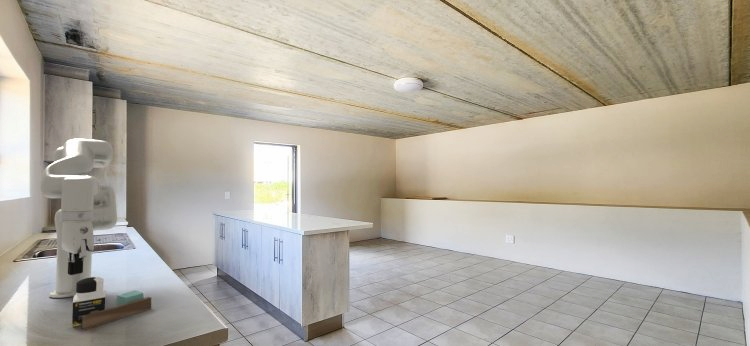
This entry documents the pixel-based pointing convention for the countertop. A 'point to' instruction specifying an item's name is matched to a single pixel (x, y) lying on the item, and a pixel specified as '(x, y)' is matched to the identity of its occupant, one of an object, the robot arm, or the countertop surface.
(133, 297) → the teal block
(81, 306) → the medicine bottle
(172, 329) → the countertop surface
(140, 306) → the walnut fence
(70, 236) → the robot arm
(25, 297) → the countertop surface
